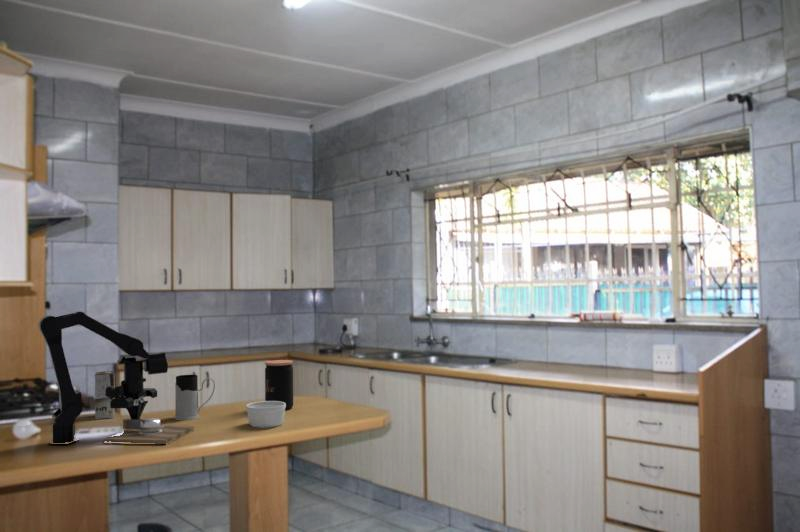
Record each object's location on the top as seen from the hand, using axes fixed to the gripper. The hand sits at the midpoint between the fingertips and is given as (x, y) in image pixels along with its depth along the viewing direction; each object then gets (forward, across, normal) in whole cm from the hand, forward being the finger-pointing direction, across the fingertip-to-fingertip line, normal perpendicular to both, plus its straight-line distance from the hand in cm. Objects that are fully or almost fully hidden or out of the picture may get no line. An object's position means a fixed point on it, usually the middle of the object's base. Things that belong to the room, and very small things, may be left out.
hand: (135, 424), depth 222 cm
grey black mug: (+4, -28, +7) cm, 29 cm away
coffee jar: (+5, -47, +32) cm, 57 cm away
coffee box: (+4, -25, -27) cm, 37 cm away
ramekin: (+4, -19, +37) cm, 42 cm away
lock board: (+3, +3, +7) cm, 8 cm away
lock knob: (+1, +3, +4) cm, 5 cm away
